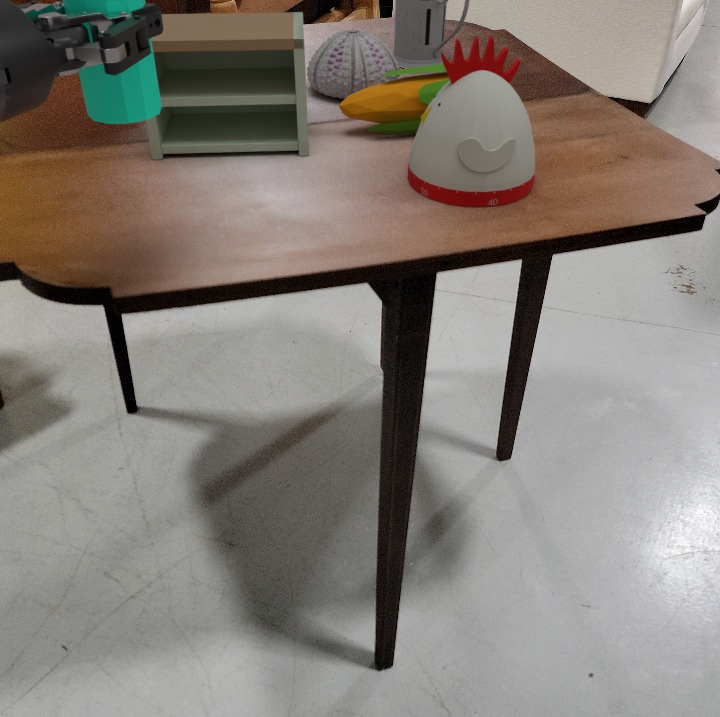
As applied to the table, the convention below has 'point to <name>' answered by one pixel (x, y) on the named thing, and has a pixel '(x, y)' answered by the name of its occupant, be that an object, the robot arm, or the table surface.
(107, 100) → the candle
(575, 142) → the table surface
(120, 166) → the table surface
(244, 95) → the rack
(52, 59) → the robot arm
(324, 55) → the sea urchin shell
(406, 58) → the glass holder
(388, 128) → the corn
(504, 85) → the kitchen timer
